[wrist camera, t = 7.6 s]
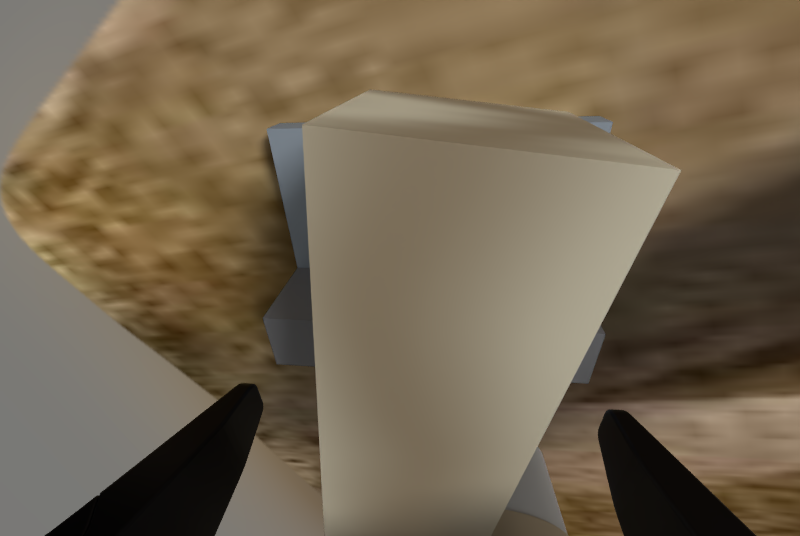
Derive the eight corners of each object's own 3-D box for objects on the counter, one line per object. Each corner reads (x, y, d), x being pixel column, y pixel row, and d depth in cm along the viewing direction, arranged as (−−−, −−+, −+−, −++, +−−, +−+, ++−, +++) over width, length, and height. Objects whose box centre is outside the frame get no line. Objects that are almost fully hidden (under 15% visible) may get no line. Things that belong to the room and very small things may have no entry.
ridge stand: (599, 115, 11) (671, 147, 7) (534, 388, 17) (556, 473, 13) (279, 123, 12) (211, 152, 8) (330, 374, 18) (303, 450, 15)
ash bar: (568, 112, 7) (681, 169, 4) (450, 480, 14) (451, 610, 11) (370, 89, 7) (301, 124, 4) (355, 463, 15) (327, 587, 11)
